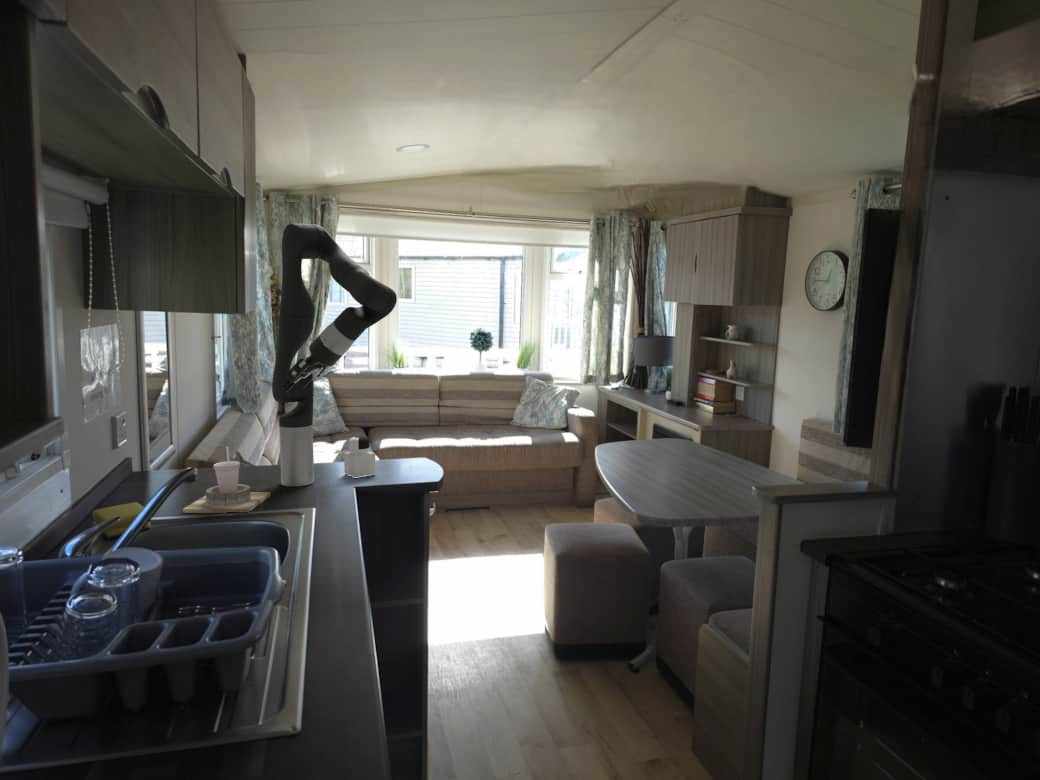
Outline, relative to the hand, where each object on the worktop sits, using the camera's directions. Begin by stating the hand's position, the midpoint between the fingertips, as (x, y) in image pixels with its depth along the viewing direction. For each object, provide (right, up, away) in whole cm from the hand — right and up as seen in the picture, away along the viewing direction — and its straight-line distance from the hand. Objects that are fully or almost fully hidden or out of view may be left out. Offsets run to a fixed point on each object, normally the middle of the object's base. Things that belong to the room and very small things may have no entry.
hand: (291, 388), depth 170 cm
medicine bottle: (+9, -27, +37) cm, 47 cm away
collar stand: (-18, -30, +5) cm, 35 cm away
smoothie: (-18, -29, +5) cm, 35 cm away
